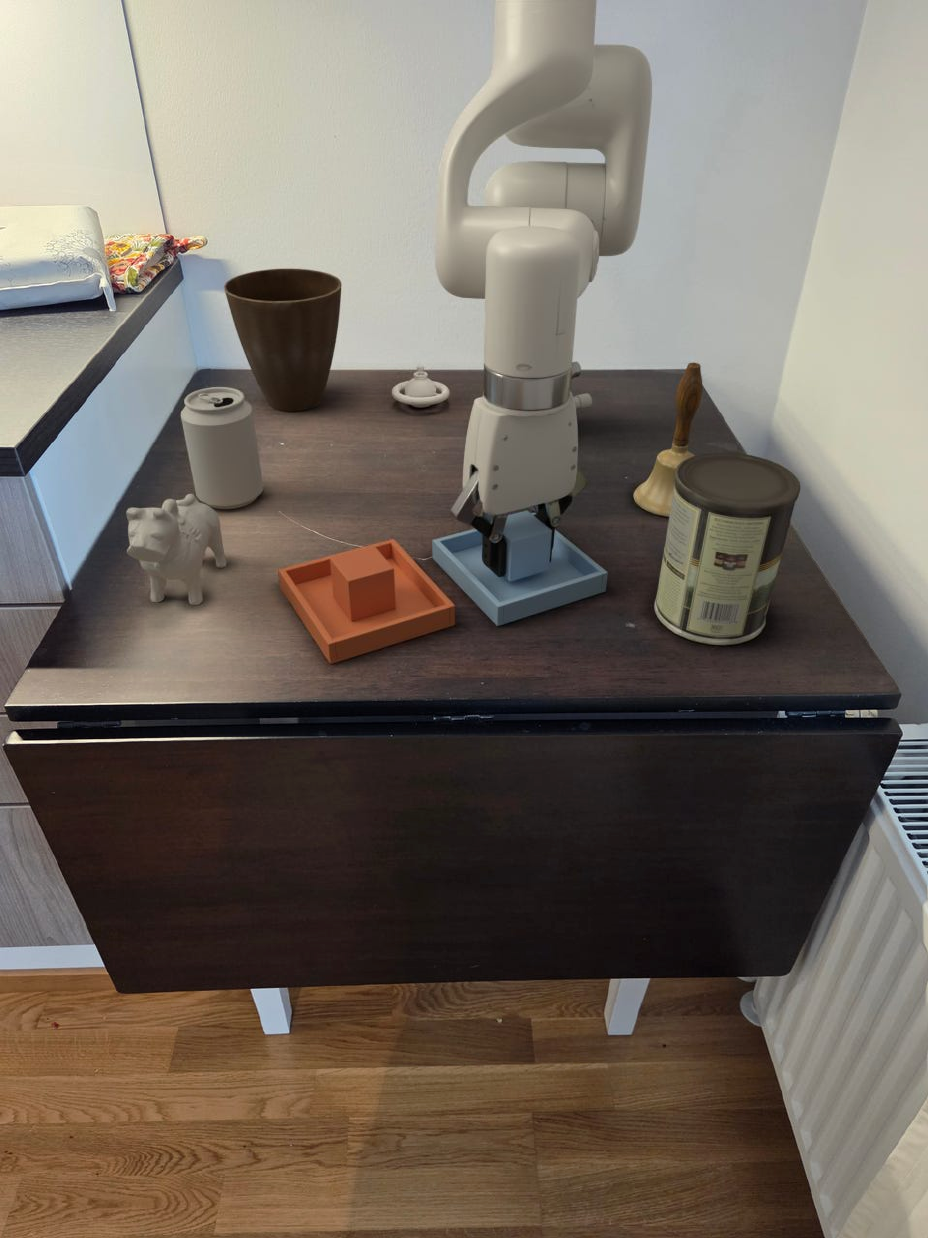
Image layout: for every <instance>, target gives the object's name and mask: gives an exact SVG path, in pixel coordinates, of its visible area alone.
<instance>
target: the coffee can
mask: <svg viewBox="0 0 928 1238" xmlns="http://www.w3.org/2000/svg"><path fill="white" fill-rule="evenodd" d="M694 455H695V454H694ZM674 482H675V484H674V491H673V497H672V503H671V510H670V516H669V517H668V521H667V522H668V523H667V530H666V535H665V542H664V548H663V553H662V560H661V566H660V573H659V579H658V584H657V591H656V597H655V599H654V604H653V608H654V609H653V610H654V612H655V616H656V617H657V619H658V620H659V621H660V623H661V624H662V625H663V626H665V627H666V628H667V629H668V630H670V631H671V632H672V633H674V634H675V635H678V636H680V637H682V638H684V639H686V640H689V641H692V642H695V643H700V644H705V645H712V646H730V645H738V644H739V645H740V644H743V643H745V642H749V641H751V640H753V639H755V638H756V637H757V636H759V634H761V633H762V631H763V629H764V628H765V626H766V619H767V613H768V610H769V606H770V602H771V598H772V594H773V590H774V586H775V582H776V578H777V575H778V570H779V566H780V564H781V563H780V562H781V558H782V555H783V551H784V547H785V543H786V540H787V536H788V531H789V530H790V529H789V528H790V525H791V521H792V516H793V512H794V509H795V504H796V502H797V500H798V499H799V496H800V493H801V482H800V481H799V478H798V477H797V476H796V475H795V474H794V473H793V472H792V471H791V470H789V469H788V468H786V467H784V466H783V465H781V464H780V463H776V462H775V461H772V460H769V459H767V458H764V457H761V456H756V455H751V454H746V453H739V452H731V451H730V452H729V451H727V452H726V451H723V452H722V451H716V452H715V451H714V452H705V453H699V454H696V455H695V456H692V457H690V458H687V459H685V460H684V461H682V462H681V463H680V464H679V465H678V466H677V467H676V470H675V475H674Z"/></svg>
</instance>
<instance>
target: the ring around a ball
mask: <svg viewBox="0 0 928 1238" xmlns="http://www.w3.org/2000/svg"><path fill="white" fill-rule="evenodd" d="M416 370H417V371H415V372H414V373H413V374H412V375H413V378H411V379H410V380H406V381H401V382H399V383H397V384H396V385H395V386H393V387H392V389H391V396H392V397H393V399H394V400H396V401H397V402H399V403H402V404H406V405H411V406H412V407H414V408H428V407H430V406H431V405H436V404H440V403H443V402H444V401H446V400H448V398H449V397H450V394H451V392H450V389H449V388H448V386H447V385H445V384H443V383H442V382H439V381H434V380H431V379H430V378H428V375H429V374H428V373H427V372H426V371H424V370H425V367H424V365H423V364H418V365H417V366H416ZM403 391H404V394H402V393H401V392H403ZM437 391H439V392H440V393H437Z"/></svg>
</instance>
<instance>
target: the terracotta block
mask: <svg viewBox="0 0 928 1238" xmlns="http://www.w3.org/2000/svg"><path fill="white" fill-rule="evenodd" d="M330 566H331V576H332V587H333V597H334V598H335V600H336V601H337V603H338V604H339V605H340V607H341V608H342V609H343V611H344V612H345V613H346V615H347V616H348V617H349V619H350V620H351V621H352V622H353V621H356V620H359V619H363V618H366V617H369V616H373V615H376V614H379V613H383V612H386V611H390V610H393V609H396V600H395V579H394V568H393V567H392V566H391V565H390V563H389V562H388V561H387V560H386V559H385V558H384V557H383V555H382V554H381V553H380V552H379V551H378V550H377V548H376V547H375V546H371V547H368V548H364V549H360V550H356V551H353V552H349V553H345V554H341V555H337V556H334V557H330Z"/></svg>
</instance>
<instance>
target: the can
mask: <svg viewBox="0 0 928 1238" xmlns="http://www.w3.org/2000/svg"><path fill="white" fill-rule="evenodd" d="M184 405H185V406H184V408H183V409H182V410H181V412H180V420H181V424H182V429H183V434H184V440H185V445H186V450H187V455H188V460H189V465H190V471H191V475H192V481H193V487H194V490H195V497H196V498H197V499H198V501H201V502H202V503H204V504H206V505H208V506H209V507H211V508H212V509H218V510H234V509H238V508H242V507H245V506H248V505H250V504H252V503H253V502H254V501H255V500H256V499H257V498H258V497H259V496H260V495H261V494H262V492H263V490H264V482H263V475H262V469H261V468H262V467H261V462H260V454H259V446H258V442H257V433H256V428H255V419H254V413H253V408H252V407H253V406H252V405H251V404H250V403H249V402H248V401H247V400H245V394H244V393H243V392H242V391H241V390H239V389H236V388H234V387H227V386H215V387H207V388H201V389H198V390H195V391H193V392H190V393H189V394H187V395H186V397H185V398H184Z"/></svg>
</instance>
